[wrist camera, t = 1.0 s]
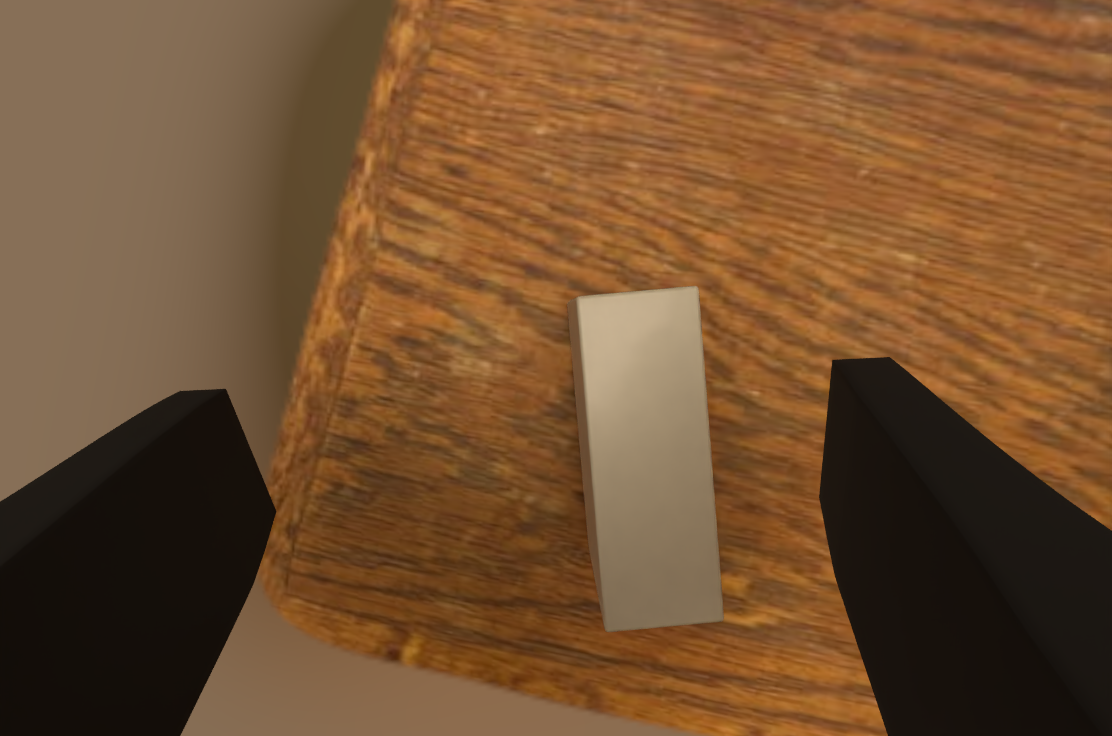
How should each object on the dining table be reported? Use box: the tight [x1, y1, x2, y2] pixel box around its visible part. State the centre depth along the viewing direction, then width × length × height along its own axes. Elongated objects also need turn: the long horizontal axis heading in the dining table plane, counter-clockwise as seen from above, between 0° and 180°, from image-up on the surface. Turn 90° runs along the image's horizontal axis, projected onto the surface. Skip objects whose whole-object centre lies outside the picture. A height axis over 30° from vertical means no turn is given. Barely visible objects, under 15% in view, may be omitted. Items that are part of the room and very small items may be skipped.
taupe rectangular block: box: [567, 286, 724, 632], centre depth 19 cm, size 7×2×6 cm, turn 5°
